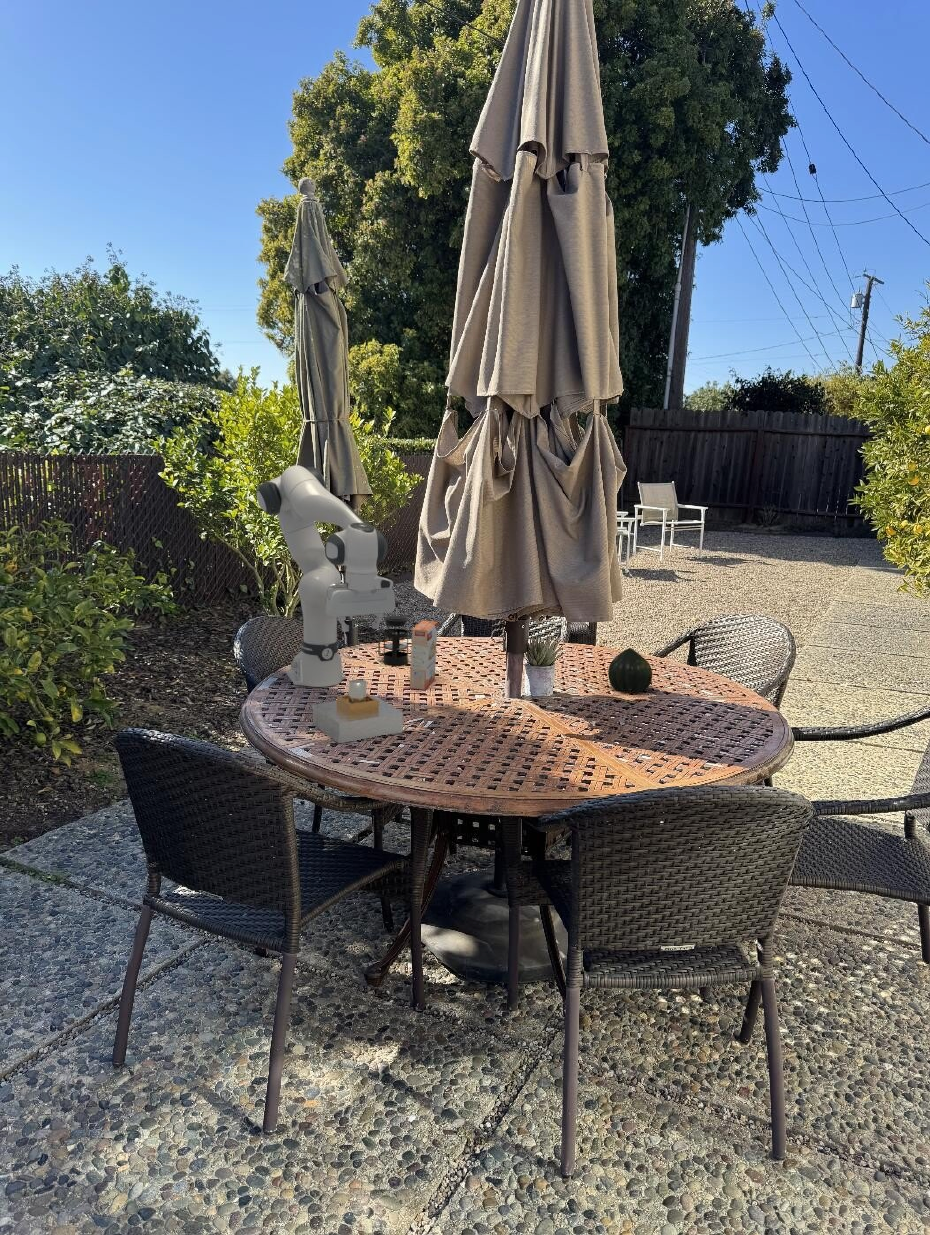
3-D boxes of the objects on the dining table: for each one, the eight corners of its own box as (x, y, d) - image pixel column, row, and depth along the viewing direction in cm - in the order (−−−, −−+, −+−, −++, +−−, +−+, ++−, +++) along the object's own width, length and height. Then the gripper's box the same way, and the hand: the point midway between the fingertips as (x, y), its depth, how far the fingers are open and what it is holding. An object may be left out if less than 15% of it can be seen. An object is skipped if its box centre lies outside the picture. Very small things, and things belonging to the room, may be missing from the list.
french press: (411, 659, 325) (412, 600, 320) (408, 666, 316) (410, 605, 311) (379, 658, 325) (381, 598, 320) (376, 665, 316) (377, 603, 311)
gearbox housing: (312, 724, 253) (312, 694, 251) (373, 713, 264) (374, 685, 262) (338, 744, 238) (339, 712, 236) (402, 732, 249) (403, 702, 247)
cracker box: (426, 691, 288) (428, 630, 284) (409, 689, 289) (410, 628, 285) (436, 679, 302) (438, 621, 297) (419, 677, 303) (421, 619, 298)
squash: (636, 685, 286) (650, 646, 292) (595, 677, 295) (611, 640, 300) (648, 705, 296) (662, 667, 302) (609, 697, 305) (623, 661, 310)
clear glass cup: (345, 707, 250) (346, 680, 249) (361, 704, 253) (361, 678, 251) (353, 712, 246) (353, 685, 244) (369, 709, 249) (369, 683, 247)
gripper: (331, 586, 234) (331, 635, 237) (398, 581, 245) (397, 629, 248) (322, 582, 239) (321, 630, 242) (387, 577, 250) (386, 624, 253)
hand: (360, 629), depth 245 cm, fingers open, 8 cm apart
